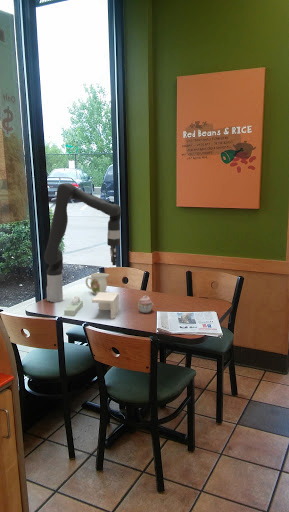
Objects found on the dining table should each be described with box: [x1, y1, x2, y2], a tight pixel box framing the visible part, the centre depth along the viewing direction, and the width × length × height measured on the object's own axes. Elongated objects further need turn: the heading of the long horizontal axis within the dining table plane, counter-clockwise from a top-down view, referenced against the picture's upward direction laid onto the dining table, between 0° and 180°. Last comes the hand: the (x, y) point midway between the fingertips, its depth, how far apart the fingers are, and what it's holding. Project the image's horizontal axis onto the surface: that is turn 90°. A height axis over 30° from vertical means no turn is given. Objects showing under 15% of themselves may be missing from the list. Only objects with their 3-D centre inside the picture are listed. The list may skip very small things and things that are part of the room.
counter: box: [91, 291, 120, 320], centre depth 238 cm, size 12×16×10 cm
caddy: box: [63, 296, 84, 317], centre depth 243 cm, size 18×6×6 cm, turn 173°
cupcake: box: [137, 295, 154, 314], centre depth 242 cm, size 9×9×10 cm
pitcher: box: [85, 272, 110, 296], centre depth 279 cm, size 11×18×14 cm, turn 68°
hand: (113, 263), depth 252 cm, fingers open, 8 cm apart
